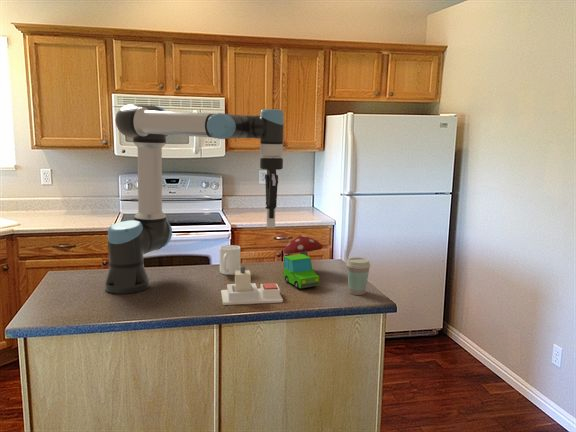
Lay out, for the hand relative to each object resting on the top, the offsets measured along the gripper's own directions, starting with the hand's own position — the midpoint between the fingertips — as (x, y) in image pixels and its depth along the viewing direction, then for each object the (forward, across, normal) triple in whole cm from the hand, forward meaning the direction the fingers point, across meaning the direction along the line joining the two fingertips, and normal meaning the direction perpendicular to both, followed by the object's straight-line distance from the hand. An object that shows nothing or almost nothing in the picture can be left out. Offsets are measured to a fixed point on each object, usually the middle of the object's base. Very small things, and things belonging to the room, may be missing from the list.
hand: (270, 227), depth 166 cm
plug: (+24, 0, +9) cm, 25 cm away
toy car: (+25, +11, -13) cm, 30 cm away
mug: (+25, +29, +12) cm, 40 cm away
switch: (+22, 0, 0) cm, 22 cm away
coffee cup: (+25, 0, -32) cm, 40 cm away
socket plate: (+24, 0, +6) cm, 25 cm away
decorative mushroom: (+25, +28, -18) cm, 41 cm away
